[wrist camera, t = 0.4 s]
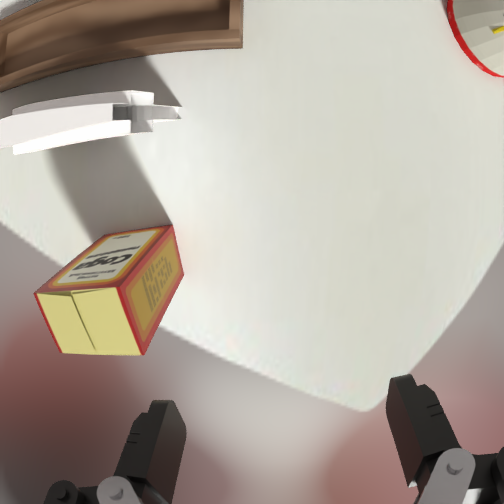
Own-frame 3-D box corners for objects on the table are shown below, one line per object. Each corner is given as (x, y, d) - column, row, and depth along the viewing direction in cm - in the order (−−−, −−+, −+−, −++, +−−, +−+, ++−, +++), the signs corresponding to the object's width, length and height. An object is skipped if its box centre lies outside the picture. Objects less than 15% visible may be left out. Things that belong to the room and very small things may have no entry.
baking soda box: (172, 224, 37) (117, 289, 23) (184, 274, 40) (143, 357, 25) (104, 234, 38) (31, 295, 23) (117, 281, 41) (58, 354, 26)
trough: (6, 30, 27) (-12, 26, 23) (244, -26, 26) (241, -43, 22) (1, 92, 31) (-19, 92, 27) (242, 48, 30) (239, 38, 26)
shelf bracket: (182, 137, 34) (112, 146, 22) (39, 147, 39) (-28, 163, 28) (183, 89, 32) (113, 77, 20) (38, 112, 37) (-29, 121, 26)
